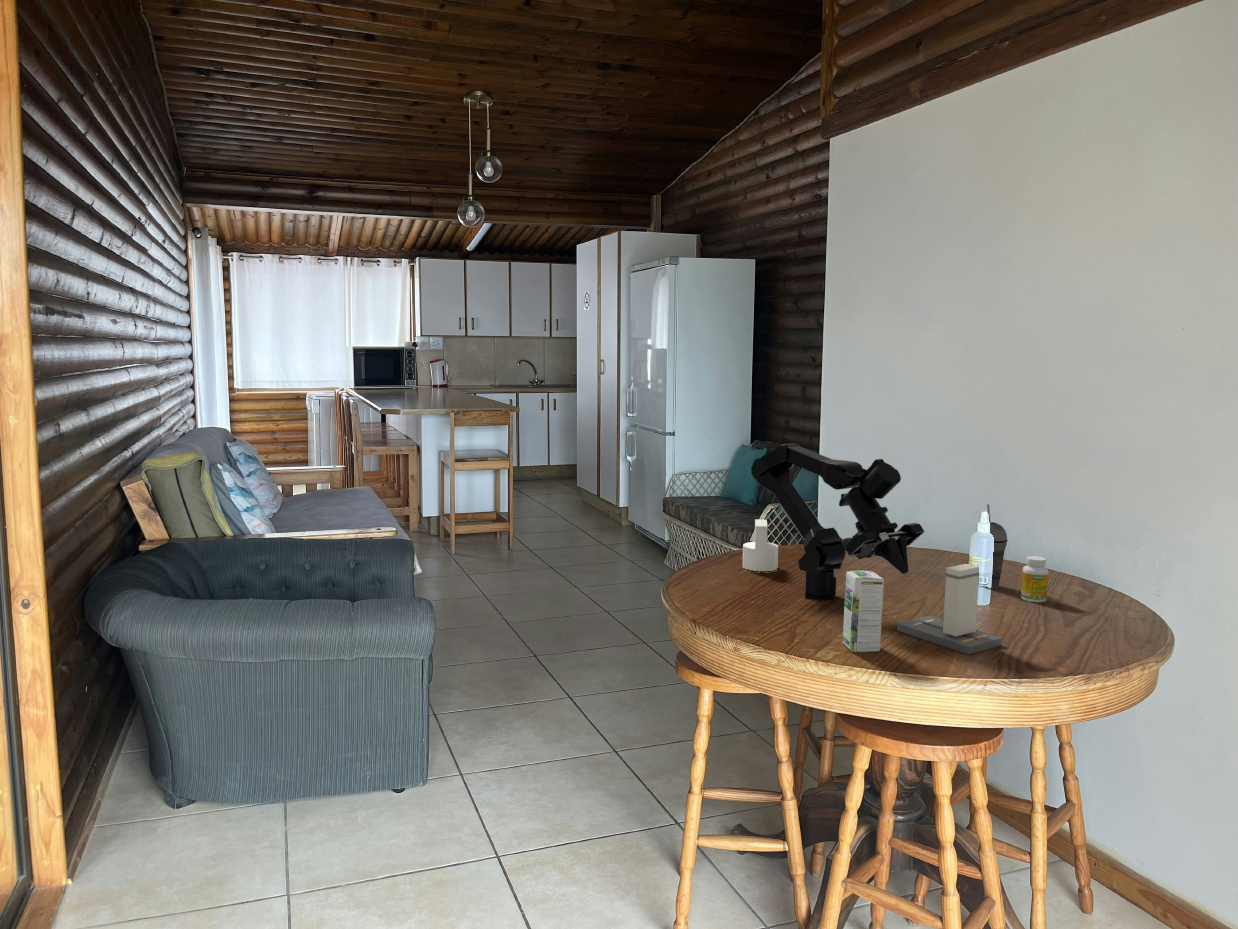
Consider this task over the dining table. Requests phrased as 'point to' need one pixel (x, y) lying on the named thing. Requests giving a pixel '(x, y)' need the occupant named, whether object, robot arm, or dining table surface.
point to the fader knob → (961, 599)
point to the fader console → (948, 635)
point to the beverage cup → (997, 549)
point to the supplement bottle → (1034, 580)
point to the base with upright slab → (760, 550)
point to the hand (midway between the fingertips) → (905, 573)
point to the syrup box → (863, 611)
